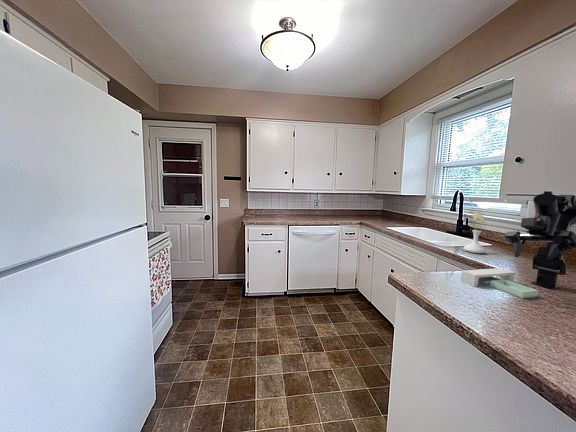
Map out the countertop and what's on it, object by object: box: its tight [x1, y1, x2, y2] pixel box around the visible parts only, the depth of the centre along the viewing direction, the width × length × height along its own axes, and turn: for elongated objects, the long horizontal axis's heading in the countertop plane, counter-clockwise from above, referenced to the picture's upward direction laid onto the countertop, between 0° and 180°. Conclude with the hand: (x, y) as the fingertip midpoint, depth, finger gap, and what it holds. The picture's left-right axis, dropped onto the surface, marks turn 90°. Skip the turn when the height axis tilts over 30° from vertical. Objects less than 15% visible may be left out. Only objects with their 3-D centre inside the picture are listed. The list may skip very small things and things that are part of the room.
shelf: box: [460, 267, 516, 287], centre depth 103 cm, size 22×6×5 cm, turn 106°
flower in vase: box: [463, 212, 487, 254], centre depth 155 cm, size 13×11×25 cm
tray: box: [489, 279, 539, 300], centre depth 94 cm, size 8×11×2 cm
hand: (531, 257), depth 87 cm, fingers open, 9 cm apart
